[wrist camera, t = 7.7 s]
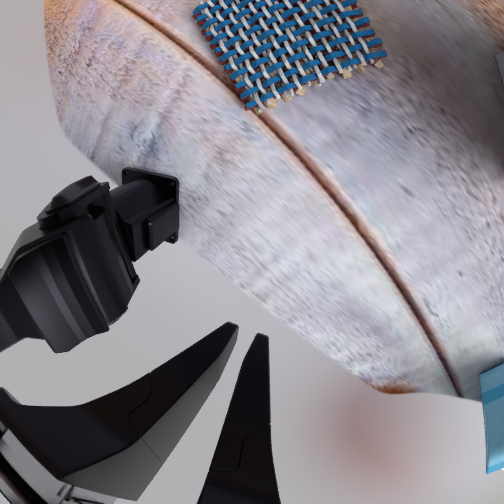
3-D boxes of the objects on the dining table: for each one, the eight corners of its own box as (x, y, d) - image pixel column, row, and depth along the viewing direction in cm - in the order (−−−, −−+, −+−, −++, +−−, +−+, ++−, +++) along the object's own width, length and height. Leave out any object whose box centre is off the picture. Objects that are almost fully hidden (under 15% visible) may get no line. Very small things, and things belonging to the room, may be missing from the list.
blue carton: (478, 370, 21) (488, 459, 12) (508, 354, 19) (526, 442, 9) (482, 406, 24) (485, 476, 14) (507, 395, 21) (514, 464, 12)
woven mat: (195, 15, 15) (181, 9, 13) (316, -44, 9) (311, -57, 8) (253, 118, 18) (243, 121, 17) (390, 66, 13) (395, 62, 11)
